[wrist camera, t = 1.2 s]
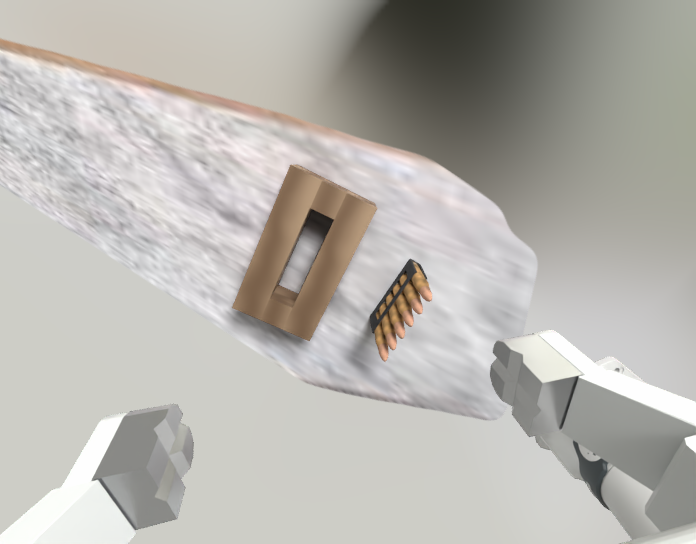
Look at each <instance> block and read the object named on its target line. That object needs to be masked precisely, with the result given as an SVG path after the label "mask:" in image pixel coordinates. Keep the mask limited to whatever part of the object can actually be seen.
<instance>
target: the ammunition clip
mask: <svg viewBox="0 0 696 544" xmlns="http://www.w3.org/2000/svg"><path fill="white" fill-rule="evenodd" d="M426 279H427V277H426V275H425V273H424V271H423V269H422V267H421V265H420V264H418V263H417V262H415V261H414V260H412V259H409V261H408V262H407V264H406V265H405V266H404V268H403V269H402V271H401V272H400V274H399V275H398V277H397V278H396V279H395V281H394V282H393V284H392V285H391V287H390V288H389V290H388V291H387V293H386V294H385V295H384V297H383V298H382V300H381V301H380V303H379V304H378V306H377V307H376V308H375V310H374V311H373V313H372V314H371V316H370V321H371V328H372V333H374V332H375V340H376V344H377V346H378V350H379V354H380V357H381V358H382V360H383V361H386V360H387V358H388V345H389V347H390V348H391V349H392V350H395V348H396V344H397V341H396V334H397V335H398V337H400V338H401V339H403V338H404V335H405V328H404V321H405V323H406V324H407V325H408V326H409V327H412V326H413V322H414V320H413V315H412V308H413V310H414V311H415V312H416V313H417V314H421V313H422V311H423V307H422V303H421V300H420V295H419V293H420V294H421V296H422V297H423V298H424V299H425V300H426V301H429V302H430V301H431V300H432V293H431V291H430V288H429V284H428V282H427V280H426ZM418 292H419V293H418ZM411 306H412V307H411Z"/></svg>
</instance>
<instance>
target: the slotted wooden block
mask: <svg viewBox="0 0 696 544" xmlns="http://www.w3.org/2000/svg"><path fill="white" fill-rule="evenodd" d="M312 209H313V210H315V211H317V212H319V213H321V214H323V215H325V216H327V217H329V218H332V219H334V220H333V222H332V224H331V226H330V228H329V230H328V233H327V235H326V237H325V239H324V241H323V243H322V245H321V247H320V250H319V252H318V254H317V256H316V258H315V260H314V262H313V264H312V266H311V269H310V271H309V273H308V275H307V277H306V279H305V281H304V283H303V285H302V288H301V290H300V292H299V294H297V293H295V292H293V291H291V290H288V289H286V288H284V287H282V286H280V285H278V284H279V282H280V280H281V278H282V275H283V273H284V271H285V269H286V266H287V264H288V262H289V260H290V257H291V255H292V253H293V251H294V249H295V246H296V244H297V242H298V240H299V237H300V235H301V233H302V231H303V228H304V226H305V224H306V222H307V219H308V217H309V215H310V213H311V211H312ZM376 210H377V207H376V205H375V203H373V202H371V201H369V200H367V199H365V198H363V197H361V196H359V195H357V194H355V193H353V192H351V191H349V190H347V189H345V188H343V187H341V186H339V185H337V184H335V183H333V182H331V181H329V180H327V179H325V178H323V177H321V176H319V175H317V174H315V173H313V172H311V171H309V170H307V169H305V168H303V167H301V166H299V165H290V167H289V170H288V172H287V175H286V177H285V180H284V182H283V184H282V187H281V189H280V192H279V194H278V197H277V199H276V202H275V204H274V206H273V209H272V211H271V214H270V216H269V219H268V221H267V224H266V226H265V228H264V231H263V233H262V236H261V238H260V241H259V243H258V246H257V248H256V250H255V253H254V255H253V258H252V260H251V263H250V265H249V268H248V270H247V272H246V275H245V277H244V280H243V282H242V285H241V287H240V290H239V292H238V294H237V297H236V299H235V302H234V304H233V307H232V308H234V309H236V310H238V311H241V312H243V313H245V314H248V315H250V316H252V317H254V318H257V319H259V320H261V321H264V322H266V323H268V324H271V325H273V326H275V327H278V328H280V329H282V330H285V331H287V332H289V333H291V334H294V335H296V336H298V337H301V338H303V339H305V340H308V341H310V339H311V337H312V335H313V333H314V331H315V329H316V327H317V325H318V323H319V321H320V319H321V317H322V316H323V314H324V312H325V310H326V308H327V306H328V304H329V302H330V300H331V298H332V296H333V294H334V292H335V290H336V288H337V286H338V284H339V282H340V280H341V278H342V276H343V274H344V272H345V270H346V268H347V266H348V265H349V263H350V261H351V259H352V257H353V255H354V253H355V251H356V249H357V247H358V245H359V243H360V241H361V239H362V237H363V235H364V233H365V231H366V229H367V227H368V225H369V223H370V221H371V219H372V217H373V215H374V214H375V212H376Z"/></svg>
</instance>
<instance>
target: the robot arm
mask: <svg viewBox="0 0 696 544" xmlns="http://www.w3.org/2000/svg"><path fill="white" fill-rule="evenodd" d="M493 353H494V355H495V356H496V357H497V359H496V360H495V361H494V362H493V363H492V365H491V369H490V377H491V382H492V385H493V387H494V390H495V392H496V393H497V395H498V396H499V397H500V399H501V400H502V401H504V402H505V403H507V404H509V405H511V406H512V415H513V416H514V418H515V419H516V420H517V422H518V423H519V424H520V426H521V427H522V428H523V430H524V431H525V432H526V434H527V435H528V436H529V437H531V436H536V442H537V443H538V444H539V446H540V447H541V448H544V449H548V450H551V451H552V452H553V453H554V455H555V456H556V457H557V458H558V460H559V461H560V462H561V463H562V465H563V466H564V467H565V468H566V470H567V471H568V472H569V473H570V474H571V476H573V477H574V478H575V479H580V480H583V481H585V483H586V484H587V486H588V488H589V490H590V491H591V492H592V494H593V495H594V496H595V497H596V498H597V499H598V500H599V501H600V503H601V504H602V505H603V506H604V507H605V508H607V509H608V510H610V511H611V512H612V513H613V515H614V516H615V517H616V519H617V520H618V521H619V523H620V524H621V525H622V527H623V528H624V530H625V531H626V532H627V534H628V535H629V536H630V538H631V539H632V540H631V541H628V542H624V543H620V544H696V402H694V401H691V400H688V399H686V398H683V397H680V396H678V395H675V394H673V393H670V392H667V391H665V390H662V389H659V388H657V387H654V386H651V385H649V384H647V383H646V382H644V381H643V380H642V379H641V378H639V377H638V376H637V375H636V374H635V373H633V372H632V371H631V370H630V369H628V368H627V367H626V366H625V365H623V364H622V363H621V362H620V361H619V360H617V359H616V358H614V357H606V358H603V359H600V360H598V361H596V362H592V361H591V360H590V359H589V358H588V357H586V356H585V355H584V354H583V353H581V352H580V351H579V350H578V349H577V348H575V347H574V346H573V345H572V344H570V343H569V342H568V341H567V340H566V339H564V338H563V337H562V336H561V335H559V334H558V333H557V332H555V331H552V330H546V331H542V332H537V333H533V334H528V335H523V336H518V337H513V338H508V339H503V340H498V341H497V342H496V343H495V345H494V349H493ZM182 415H183V413H182V412H181V410H180V408H179V406H178V405H176V404H171V405H164V406H159V407H153V408H147V409H142V410H135V411H130V412H126V413H120V414H115V415H108V416H106V417H105V418H103V419H102V420H101V421H100V422H99V424H98V425H97V427H96V429H95V430H94V432H93V434H92V436H91V437H90V439H89V441H88V442H87V444H86V446H85V448H84V449H83V451H82V453H81V454H80V456H79V458H78V460H77V461H76V463H75V465H74V467H73V468H72V470H71V471H70V473H69V475H68V477H67V478H66V480H65V482H64V484H63V485H62V487H61V488H57V489H53V490H52V491H51V492H49V493H48V494H47V495H46V496H45V497H44V498H43V499H41V500H40V501H39V502H38V503H37V504H36V505H34V506H33V507H32V508H31V509H30V510H29V511H28V512H26V513H25V514H24V515H23V516H22V517H20V518H19V519H18V520H17V521H16V522H15V523H14V524H13V525H11V526H10V527H9V528H8V529H7V530H5V531H4V532H3V533H2V534H1V535H0V544H128V543H129V541H130V540H131V539H132V537H133V536H134V535H135V533H136V531H135V530H138V529H141V528H145V527H149V526H153V525H157V524H160V523H164V522H168V521H172V520H175V519H177V518H178V514H179V510H180V506H181V503H182V499H183V495H184V491H185V486H184V484H183V482H182V480H181V479H182V477H183V476H184V475H185V474H186V473H187V471H188V470H189V469H190V467H191V462H192V459H193V446H194V442H193V438H192V433H191V431H190V429H189V427H188V426H186V425H184V424H182V423H181V422H180V421H181V419H182Z"/></svg>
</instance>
